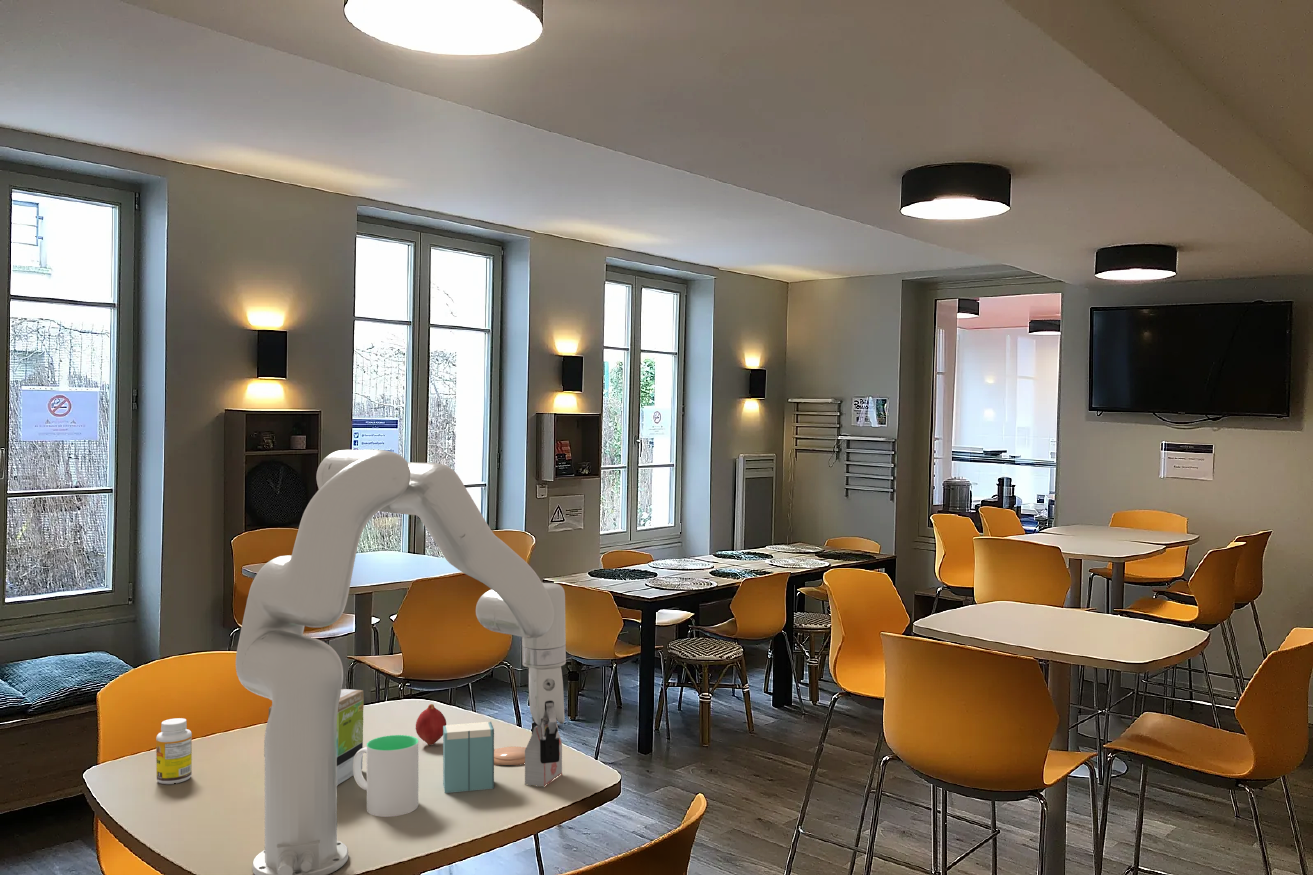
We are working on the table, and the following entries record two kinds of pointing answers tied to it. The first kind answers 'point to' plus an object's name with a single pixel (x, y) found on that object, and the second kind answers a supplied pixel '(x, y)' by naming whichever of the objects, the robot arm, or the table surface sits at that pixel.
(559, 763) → the white gable carton
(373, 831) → the table surface
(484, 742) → the teal and cream box
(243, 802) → the table surface
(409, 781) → the mug
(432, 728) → the onion
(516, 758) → the saucer
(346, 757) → the tea box
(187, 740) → the supplement bottle
